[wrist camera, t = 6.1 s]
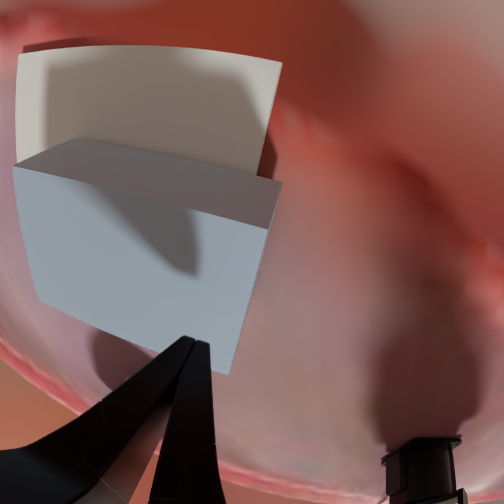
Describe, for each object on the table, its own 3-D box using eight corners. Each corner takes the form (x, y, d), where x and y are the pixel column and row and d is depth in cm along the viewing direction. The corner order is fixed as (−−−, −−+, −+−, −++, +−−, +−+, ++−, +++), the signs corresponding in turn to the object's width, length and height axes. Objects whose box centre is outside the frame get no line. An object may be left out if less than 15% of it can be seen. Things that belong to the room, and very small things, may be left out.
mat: (283, 63, 10) (281, 62, 10) (218, 349, 19) (216, 355, 18) (25, 53, 11) (18, 54, 10) (42, 282, 19) (39, 285, 19)
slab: (268, 229, 9) (12, 166, 9) (228, 375, 12) (38, 300, 13) (283, 180, 12) (76, 137, 13) (248, 309, 16) (82, 255, 16)
